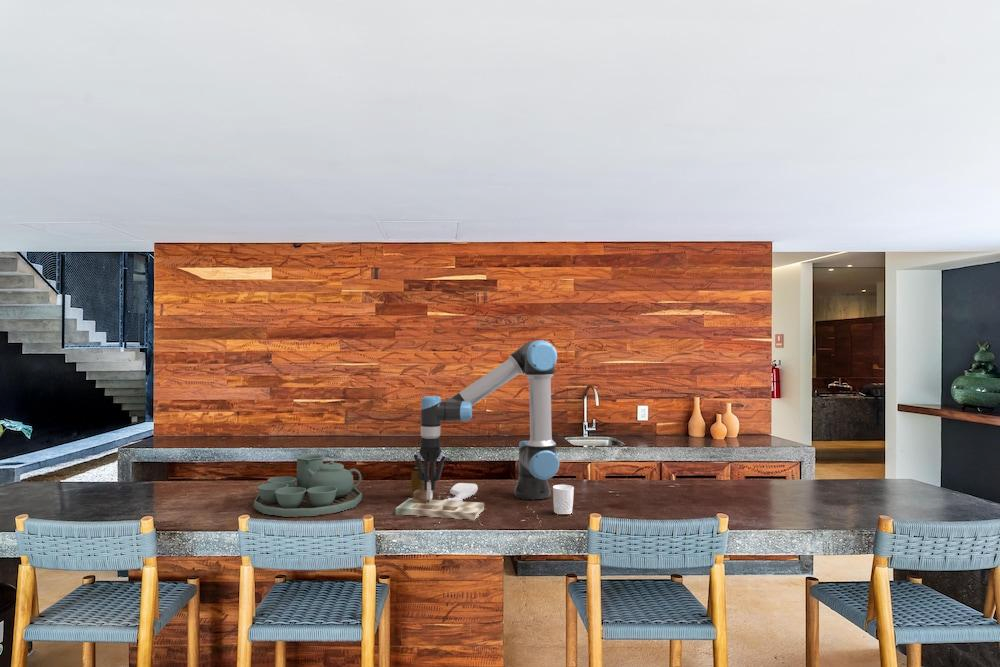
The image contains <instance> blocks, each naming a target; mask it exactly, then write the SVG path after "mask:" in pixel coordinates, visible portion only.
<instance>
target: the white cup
mask: <svg viewBox="0 0 1000 667" xmlns="http://www.w3.org/2000/svg"><path fill="white" fill-rule="evenodd" d="M574 491H575V487H574V486H573V485H569V484H555V485H553V486H552V500H553V513H554V512H555V513H557V514H571V513H572V514H573V506H574Z"/></svg>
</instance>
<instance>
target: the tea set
mask: <svg viewBox="0 0 1000 667" xmlns="http://www.w3.org/2000/svg"><path fill="white" fill-rule="evenodd" d="M325 456H326V455H325V454H320V453H307V454H306V453H305V454H300V455H297V456H295V458H296V477H294V476H283V475H282V476H274V477H270V478H268V479H267V480H266V482H267V483H263V484H259V485H258V486H257V490H258V495H256V498H255V499H254V500H253V508H254V510H255V509H256V510H255V511H257V510H258V511H257V512H259V513H260V512H261V514H262V513H263V515H264V514H269V515H279V516H313V515H319V514H327V513H335V512H340V511H343V512H345V511H344V510H346V511H348V510H347V509H349V510H351V509H350V508H352V509H355V508H356V507H357V506H358V505H359V504H360V503H361V502H362V499H363V493H362V492H361V491H360V490H358V488H356V487H358V486H359V485H360V484H361V482H362V474H361V472H360V470H358V469H356V468H351V469H346V468H344V464H342V463H339V462H334V461H332V460H331V461H329V462H326V463H324V458H325ZM352 472H355V473H356V474H357V475H358V480H357V482H356V483H355V484H354V475H353V473H352ZM358 503H359V504H358ZM357 504H358V505H357ZM354 507H355V508H354ZM296 508H297V509H296ZM340 513H341V512H340ZM269 515H268V516H269Z"/></svg>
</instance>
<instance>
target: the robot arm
mask: <svg viewBox="0 0 1000 667" xmlns="http://www.w3.org/2000/svg"><path fill="white" fill-rule="evenodd" d="M557 362H558V353H557V350H556V348H555V346H553V344H552V343H550V342H548V341H545V340H540V339H539V340H530V341H528V342H525V344H523V345H522V346H520V347H519V348H518V349H516V350H515V351H513V352H512V353H511V354H510V355H509V356H508V359H506V360H505V361H504V362H502V363H501V364H499V365H498V366H496V367H495V368H493V369H492V370H490V371H489V372H487V373H485V374H484V375H483V376H481V377H480V378H479V379H477V380H475V381H474V382H472V383H470V385H468V386H467V387H465V388H464V389H462V390H461V391H459V392H458V393H456V394H455V395H453V396H452V397H449V398H448V397H447V399H445V400H444V401H442V397H440V396H436V395H435V396H434V395H428V396H423V397H422V398H421V404H420V406H421V407H420V449H419V452H418V453H416V454H414V455H413V458H414V460H415V463H416V467H417V468H418V473H419V477H420V480H423V481H424V482H425V490H427V500H433V493H434V492H433V491H435V489H436V482H438V481H440V479H441V476H442V472H443V468H444V465H445V461H446V459H447V458H448V455H447V454H444V453H442V449H441V437H440V436H441V428H442V427H441V424H442V423H441V422H469V421H471V420H472V418H473V405H476V404H477V403H479V402H480V401H481V400H483V399H484V398H486V397H488V396H489V395H491V393H493V392H495V391H497V389H500V388H501V387H502V386H503V385H505V384H506V383H508V382H509V381H511V380H512V379H514V378H516V377H517V376H518V375H521V376H522V375H525V376H526V377H527V379H528V388H529V391H528V392H529V393H528V394H529V395H528V396H529V434H530V435H529V440H521V441H519V444H518V445H519V446H518V478H517V480H516V481H517V482H516V483H515V487H514V490H513V492H514V494H513V495H515V496H516V497H515V496H514V497H515V498H517V497H518V498H517V499H520V498H522V499H521V500H525V499H543V498H547V497H549V496H550V495H551V489H550V485H549V481H548V480H550V479H552V478H553V477H555V475H556V474H557V473H558V472H559V469H560V460H559V457H558V455H557V444H556V442H555V441H554V440H553V436H552V435H553V433H552V430H553V429H552V386H551V385H552V384H551V383H552V381H551V379H552V378H553V377H554V375H555V366H556V365H557ZM422 459H423V463H422ZM438 459H439V462H438V466H437V460H438ZM423 465H424V466H423ZM436 466H437V467H436ZM423 467H424V471H423ZM436 468H437V469H436ZM436 470H437V471H436ZM550 497H551V496H550ZM547 499H548V498H547ZM543 500H544V499H543Z"/></svg>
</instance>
